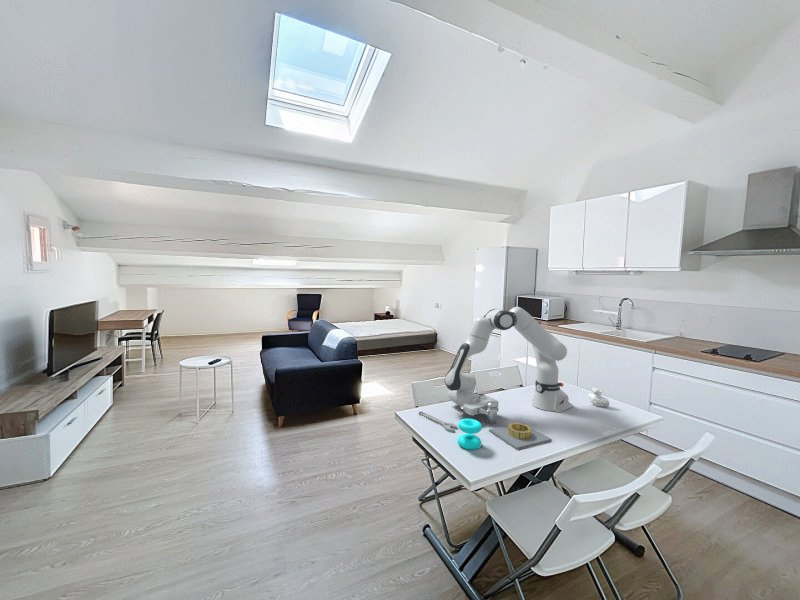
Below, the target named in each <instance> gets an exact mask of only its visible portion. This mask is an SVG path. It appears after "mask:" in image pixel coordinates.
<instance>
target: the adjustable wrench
mask: <svg viewBox="0 0 800 600" xmlns="http://www.w3.org/2000/svg"><path fill="white" fill-rule="evenodd" d="M418 415H419V416H420V415H422V416H424V417H426V418H425V419H427V418H428V419H427V420H429V421H431V422H433V423H435V424H437V425H439V424H440V425H439V426H441V427H442V428H444V430H445V431H446V432H449V433H456V430H458V424H455V423H454V422H445V421H443V420H442V419H439V418H437V417H434V416H432V415H431V414H429V413H426V412H424V411H418ZM422 416H421V417H422ZM424 417H423V418H424Z"/></svg>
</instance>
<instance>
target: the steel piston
mask: <svg viewBox="0 0 800 600" xmlns="http://www.w3.org/2000/svg"><path fill="white" fill-rule="evenodd" d="M487 410H489V411H490V414H488V415H486V414H485V415H486V416H485V417H486V419H485V423H486V424H487V425H490V426H495V425H497V422H498V421H497V419H498V418H497V417H498V412H497V403H496V402H493V401H488V402H487Z"/></svg>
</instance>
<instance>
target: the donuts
mask: <svg viewBox="0 0 800 600" xmlns="http://www.w3.org/2000/svg"><path fill="white" fill-rule="evenodd" d="M457 428H459V430H460V431H461V432H463V434H461V435H459V437H458V438H457V443H458V444H459V447H461V448H463V449H466V450H471V451H473V450H477V449H479V448H481V446H482V439H481V438H480V437H479V436H478V435H476V434H478V433H479V432H481V431H482V428H483V425H482V423H481V422H480V421H478V420H477V419H473V418H463V419H460V420H459V421H458V423H457Z"/></svg>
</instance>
